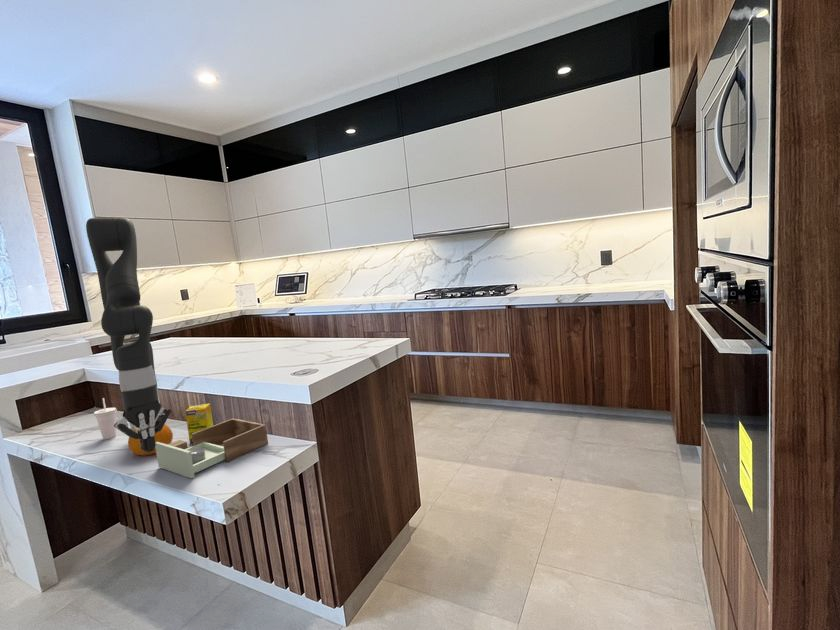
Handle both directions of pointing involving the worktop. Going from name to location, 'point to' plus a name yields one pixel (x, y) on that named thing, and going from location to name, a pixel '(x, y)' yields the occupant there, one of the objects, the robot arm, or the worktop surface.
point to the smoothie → (106, 421)
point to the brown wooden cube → (179, 444)
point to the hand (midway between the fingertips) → (149, 451)
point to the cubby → (234, 437)
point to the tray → (187, 458)
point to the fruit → (161, 436)
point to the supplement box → (198, 419)
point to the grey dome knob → (197, 455)
